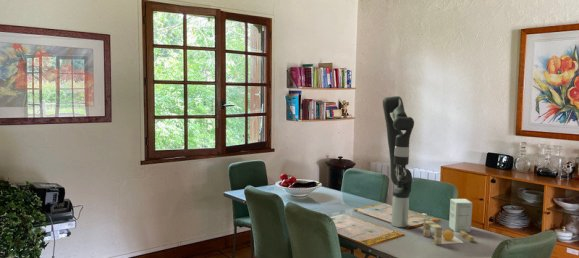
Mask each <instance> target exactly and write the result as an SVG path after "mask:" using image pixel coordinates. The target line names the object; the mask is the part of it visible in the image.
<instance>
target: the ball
mask: <svg viewBox="0 0 579 258" xmlns="http://www.w3.org/2000/svg"><path fill="white" fill-rule="evenodd" d="M442 235H443V238H444V239H445V240H448V241H450V240H452V239H453V237H454V231H452V230H450V229H446V230H444V231H442Z"/></svg>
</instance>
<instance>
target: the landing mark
mask: <svg viewBox="0 0 579 258" xmlns="http://www.w3.org/2000/svg"><path fill="white" fill-rule="evenodd" d="M431 237H432V238H434V235H431ZM464 243H465V242H463V241H462V240H461V239H460V238H458V237H456V236H454V237H453V239H452V240H450V241H448V240H445V239H444V238H443V234H442V239H441V245H442V244H443V245H444V244H445V245H446V244H447V245H448V244H450V245H451V244H464Z"/></svg>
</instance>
